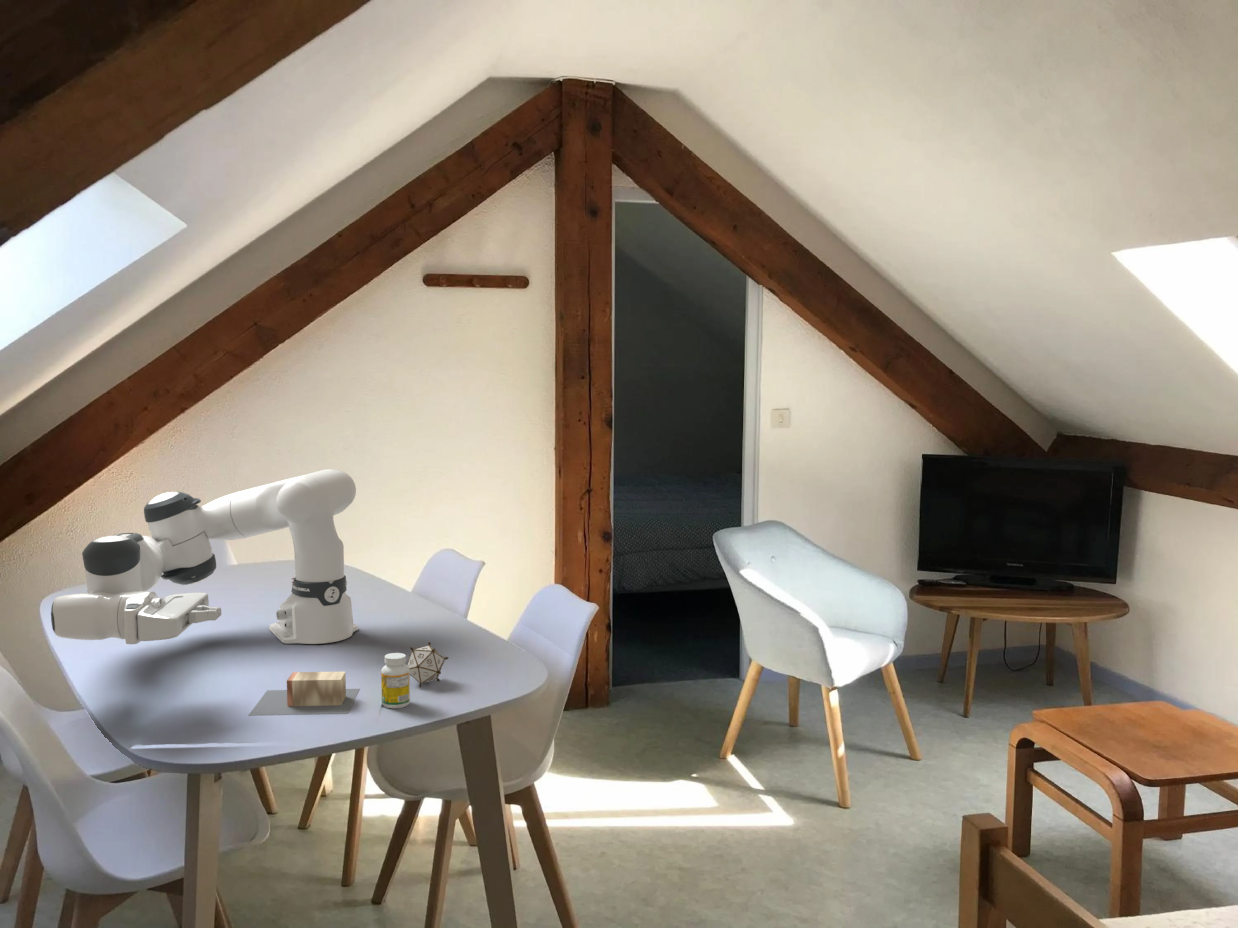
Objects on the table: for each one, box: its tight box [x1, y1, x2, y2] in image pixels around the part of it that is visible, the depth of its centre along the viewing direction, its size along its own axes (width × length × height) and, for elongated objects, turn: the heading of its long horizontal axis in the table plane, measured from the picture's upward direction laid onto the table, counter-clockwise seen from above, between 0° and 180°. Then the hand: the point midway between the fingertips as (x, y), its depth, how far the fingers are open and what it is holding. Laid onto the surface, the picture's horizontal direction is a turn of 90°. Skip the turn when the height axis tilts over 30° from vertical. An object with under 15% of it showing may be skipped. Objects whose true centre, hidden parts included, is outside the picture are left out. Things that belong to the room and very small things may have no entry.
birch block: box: [286, 671, 347, 706], centre depth 200 cm, size 5×5×10 cm
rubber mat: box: [248, 688, 361, 717], centre depth 200 cm, size 18×14×1 cm
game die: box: [406, 641, 449, 689], centre depth 213 cm, size 9×8×10 cm
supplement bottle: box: [380, 652, 411, 709], centre depth 200 cm, size 5×5×10 cm
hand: (219, 613), depth 196 cm, fingers closed
